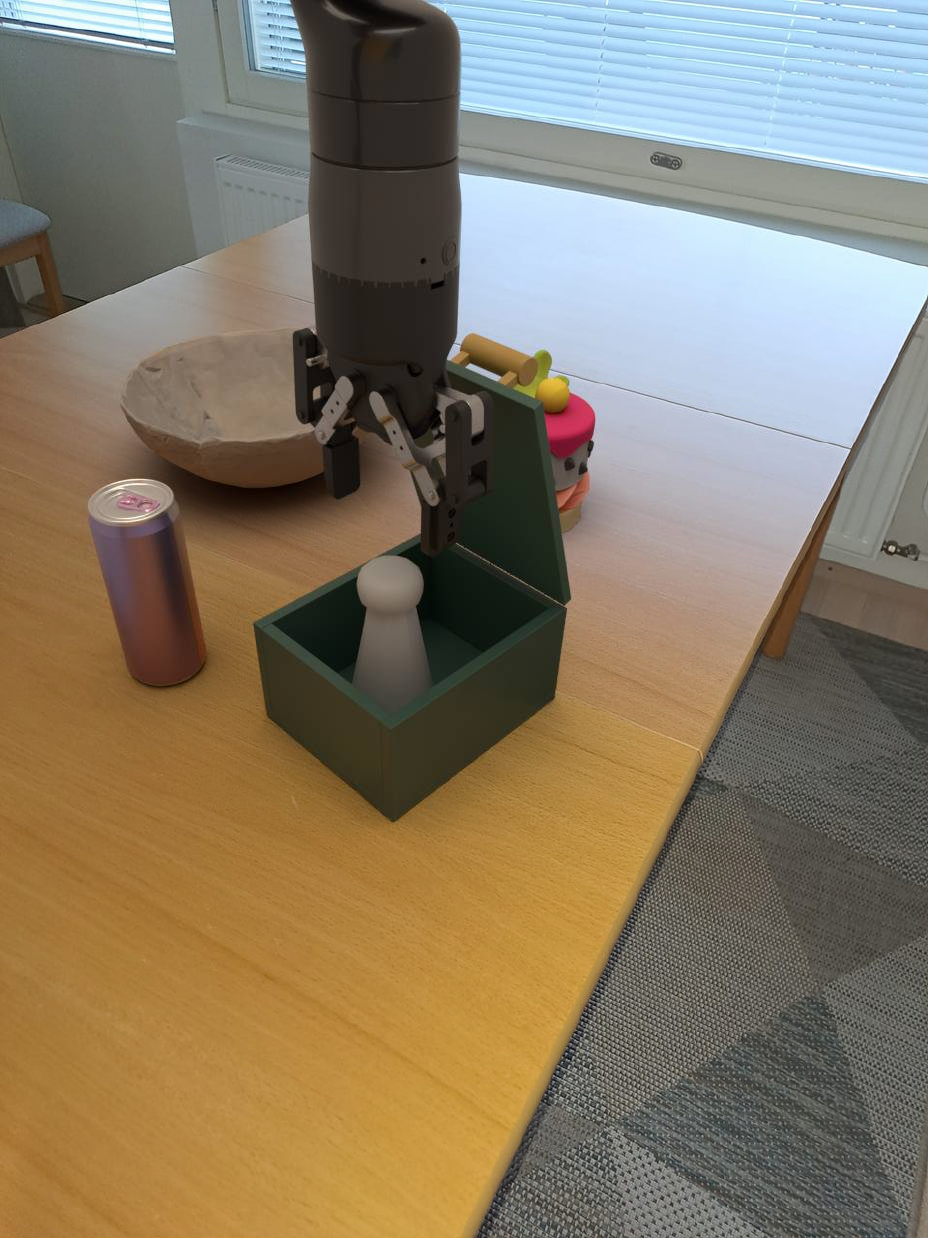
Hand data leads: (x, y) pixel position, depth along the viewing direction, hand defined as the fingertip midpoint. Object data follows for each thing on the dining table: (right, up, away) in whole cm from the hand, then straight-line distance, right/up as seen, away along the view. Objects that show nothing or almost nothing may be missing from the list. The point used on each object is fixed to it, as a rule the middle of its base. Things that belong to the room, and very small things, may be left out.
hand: (389, 520), depth 56 cm
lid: (+5, +3, +4) cm, 7 cm away
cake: (+11, +5, +34) cm, 36 cm away
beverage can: (-19, -10, +15) cm, 26 cm away
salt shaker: (-1, -13, +11) cm, 17 cm away
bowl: (-16, +10, +39) cm, 44 cm away
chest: (+1, -13, +12) cm, 18 cm away
